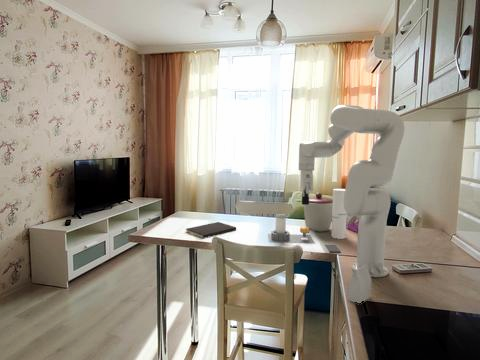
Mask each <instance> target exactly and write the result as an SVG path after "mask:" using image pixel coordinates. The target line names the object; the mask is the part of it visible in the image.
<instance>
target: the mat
mask: <svg viewBox="0 0 480 360" xmlns="http://www.w3.org/2000/svg"><path fill="white" fill-rule="evenodd" d="M324 246H325V248H326V249H327V251H328V252H329V253H333V254H334V253H337V254H339V253H340V254H341V253H342V252H341V250H340V248H338V246H337V245H336V244H324Z"/></svg>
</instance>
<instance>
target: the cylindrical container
mask: <svg viewBox="0 0 480 360" xmlns="http://www.w3.org/2000/svg"><path fill="white" fill-rule="evenodd" d="M332 190H333V191H332V200H333V208H332V220H331V235H330V236H332V237H331V238H333V239H336V238H337V239H339V240H342V239H344V240H345V239H346V237H347V236H346V235H347V228H346V219H347V212H346V210H345V208H344V203H343V201H344V194H345V188H333V189H332Z"/></svg>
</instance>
